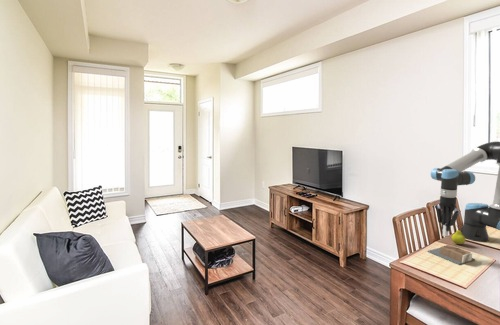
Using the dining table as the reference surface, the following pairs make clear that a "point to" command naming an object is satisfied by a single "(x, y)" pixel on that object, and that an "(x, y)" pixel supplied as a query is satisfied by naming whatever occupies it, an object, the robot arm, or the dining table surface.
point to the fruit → (458, 237)
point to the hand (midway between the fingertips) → (445, 235)
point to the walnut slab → (456, 253)
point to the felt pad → (437, 253)
